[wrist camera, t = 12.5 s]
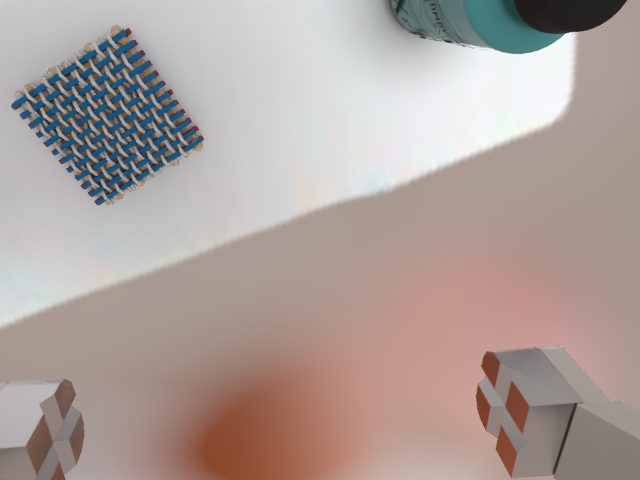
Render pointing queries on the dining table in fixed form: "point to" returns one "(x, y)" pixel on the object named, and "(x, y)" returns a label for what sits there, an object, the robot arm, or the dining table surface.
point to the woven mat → (109, 117)
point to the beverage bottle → (503, 20)
